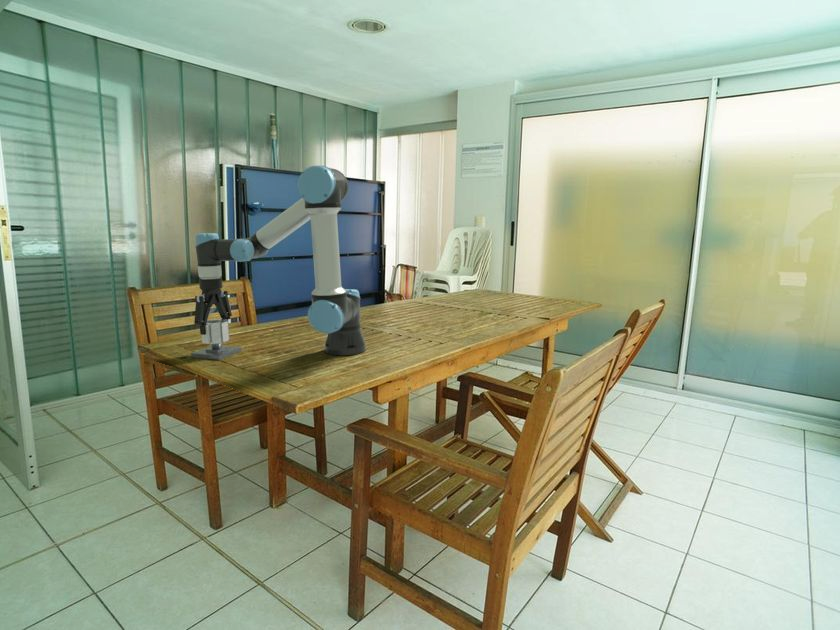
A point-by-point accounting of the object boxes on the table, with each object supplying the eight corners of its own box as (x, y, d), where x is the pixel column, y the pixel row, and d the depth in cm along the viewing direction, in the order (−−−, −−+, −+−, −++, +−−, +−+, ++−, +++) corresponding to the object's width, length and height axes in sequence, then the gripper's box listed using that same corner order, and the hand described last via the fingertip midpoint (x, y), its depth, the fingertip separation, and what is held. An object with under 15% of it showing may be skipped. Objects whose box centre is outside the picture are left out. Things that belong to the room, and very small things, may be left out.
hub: (234, 338, 181) (232, 319, 179) (217, 344, 172) (215, 325, 171) (214, 336, 184) (212, 318, 182) (196, 342, 175) (194, 323, 174)
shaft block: (241, 351, 183) (240, 330, 181) (219, 360, 172) (217, 337, 170) (215, 348, 186) (213, 328, 185) (191, 357, 175) (189, 335, 174)
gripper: (222, 273, 185) (227, 332, 189) (178, 281, 165) (184, 346, 169) (239, 274, 183) (243, 333, 187) (196, 282, 162) (202, 348, 167)
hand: (215, 339), depth 178 cm, fingers closed on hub, 9 cm apart
